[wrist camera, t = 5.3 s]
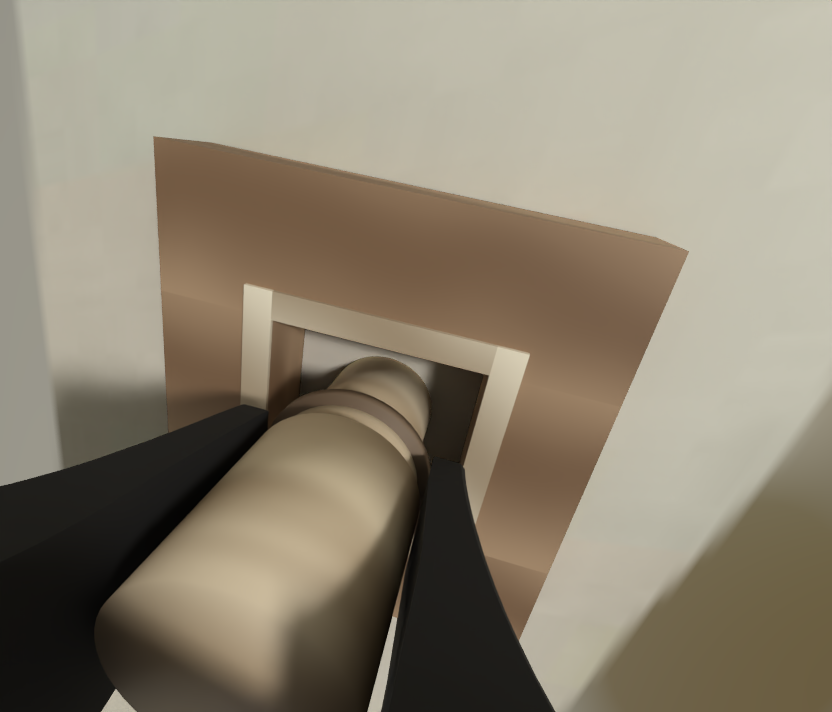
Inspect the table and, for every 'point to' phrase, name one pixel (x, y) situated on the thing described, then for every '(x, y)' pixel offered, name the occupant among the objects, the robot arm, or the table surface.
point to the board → (412, 319)
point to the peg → (283, 562)
